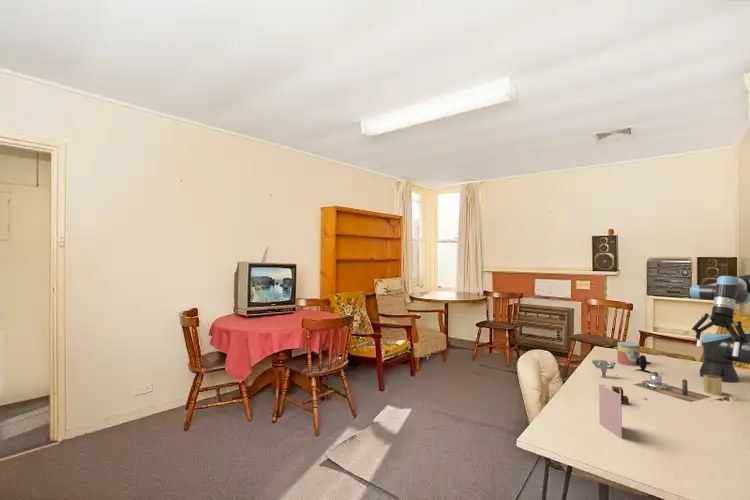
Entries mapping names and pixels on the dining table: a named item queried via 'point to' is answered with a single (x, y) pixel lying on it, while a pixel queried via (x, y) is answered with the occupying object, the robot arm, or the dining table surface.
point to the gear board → (678, 391)
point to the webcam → (642, 363)
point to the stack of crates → (617, 390)
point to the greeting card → (610, 410)
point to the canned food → (628, 353)
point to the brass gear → (713, 386)
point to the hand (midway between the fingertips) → (716, 351)
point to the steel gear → (656, 383)
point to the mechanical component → (603, 366)
